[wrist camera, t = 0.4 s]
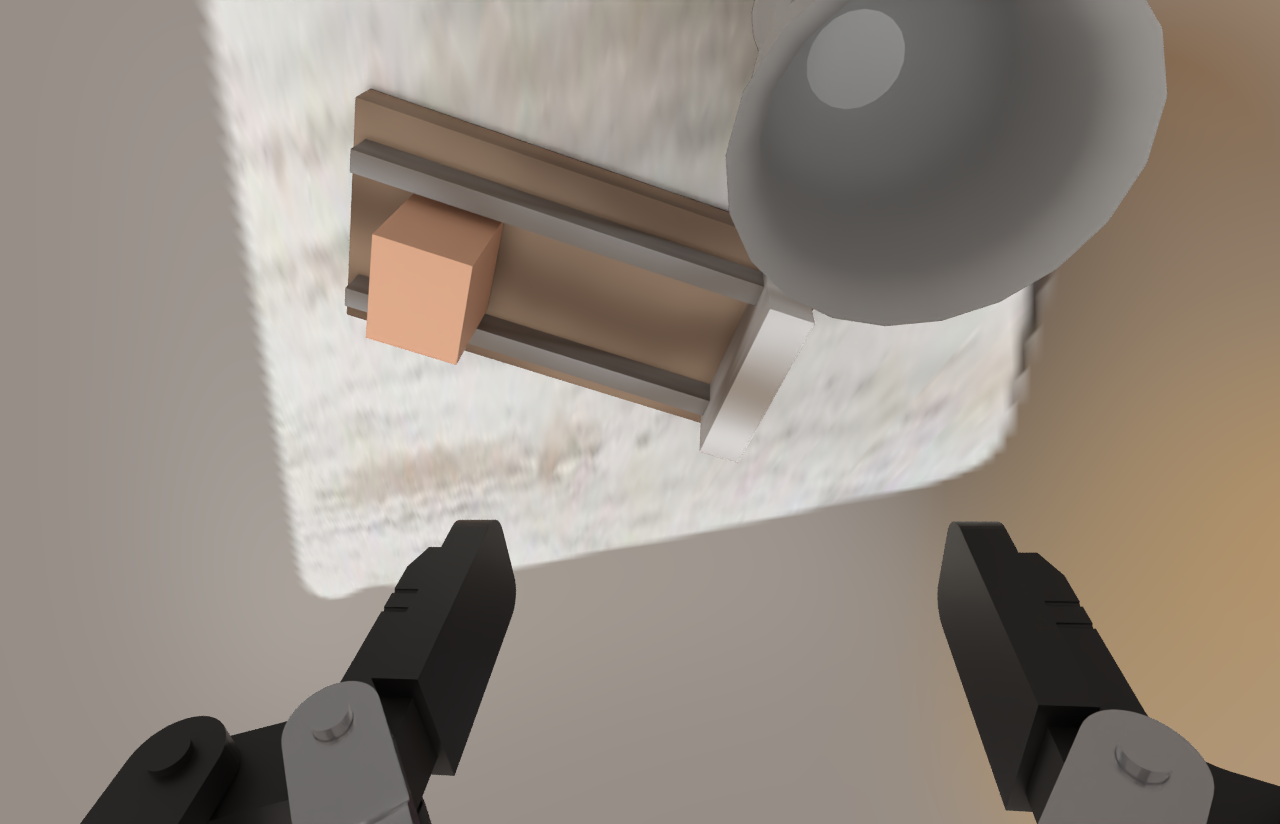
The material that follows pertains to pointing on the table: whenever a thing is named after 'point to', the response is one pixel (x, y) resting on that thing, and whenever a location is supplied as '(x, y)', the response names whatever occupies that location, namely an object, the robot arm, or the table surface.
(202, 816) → the robot arm
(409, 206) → the orange-brown block
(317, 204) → the table surface
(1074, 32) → the chalice
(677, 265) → the rail board
